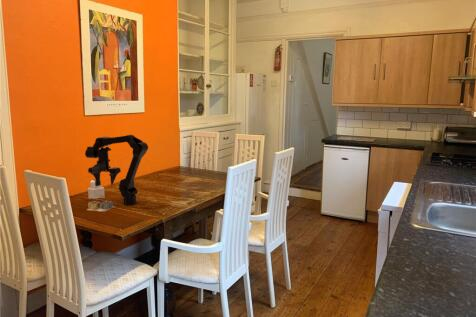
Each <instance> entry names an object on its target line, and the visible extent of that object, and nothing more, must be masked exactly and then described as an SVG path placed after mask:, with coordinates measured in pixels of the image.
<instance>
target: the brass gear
mask: <svg viewBox="0 0 476 317" xmlns="http://www.w3.org/2000/svg"><path fill="white" fill-rule="evenodd" d="M94 201H95V203H93V201H90V202H87V207H88V208H87V209H92V210H93V209H98V208H100V203H101V201H97V200H94ZM92 210H91V211H92Z"/></svg>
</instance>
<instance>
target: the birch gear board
mask: <svg viewBox="0 0 476 317" xmlns="http://www.w3.org/2000/svg"><path fill="white" fill-rule="evenodd" d="M95 201H96V200H92V202H93V203H95ZM107 201H108V200H104V202H105V203H107ZM113 208H116V205H113V207H111V208H110V209H101V208H98V209H93V210H92V209H89V208H87V209H86V211H94V212H107V211H109V210H112V209H113Z"/></svg>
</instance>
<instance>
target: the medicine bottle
mask: <svg viewBox="0 0 476 317" xmlns="http://www.w3.org/2000/svg"><path fill="white" fill-rule="evenodd" d="M89 182H90V187H88V188H87V192H88V195H87V196H88V199H89V200H90V199H93V200H97V199H105V198H106V196H105V194H106V193H105V187H103V186H102V184H101V183H102V182H101V180H100V184H98V183H97V181H96V179H92V180H90V181H89Z"/></svg>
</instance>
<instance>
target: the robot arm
mask: <svg viewBox="0 0 476 317" xmlns="http://www.w3.org/2000/svg"><path fill="white" fill-rule="evenodd" d="M122 143H127V144H128V145H129V147H130V148H131V149H132V158H131V161H130V164H129V167H128V169H127V173H126V175H125V178H122V179H120V181H119V185H118V191H119V193H120V195H121V197H122V198H123V204H124V205H126V206H134V205H136V204H137V194H138V189H137V188H136V187H135V177H136V174H137V172H138V169H139V166H140V163H141V161H142V158H143V157H144V156H145V155H146V153H147V152H148V149H149V145H148V144H147V142H144V141H143V140H142V139H139V138H138V137H136V136H135V135H134V134H126V135H120V136H114V137H112V136H111V137H110V136H101V137H100V136H99V137H97V138H95V141H94V143H93V145H92V146H87V147H86V150H85V153H84V155H85V157H86V158H88V159H97V160H96V164H94V165H93V166H91V167H89V168H87V172H88V174H90V175H92V176H93V177H94V180H96V181H97V183H98V184H100V181H101V173H102V172H105V173H109V174H108V176H109V177H110V184H111V186H113V185H114V183H115V180H116V178H117V176H118V174H120V173H121V172H122V171H121V168H120V167H115V166H114V167H111V165H110V162H111V159H110V158H109V151H112V149H111V148H110V146H111V145H114V144H122Z"/></svg>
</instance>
